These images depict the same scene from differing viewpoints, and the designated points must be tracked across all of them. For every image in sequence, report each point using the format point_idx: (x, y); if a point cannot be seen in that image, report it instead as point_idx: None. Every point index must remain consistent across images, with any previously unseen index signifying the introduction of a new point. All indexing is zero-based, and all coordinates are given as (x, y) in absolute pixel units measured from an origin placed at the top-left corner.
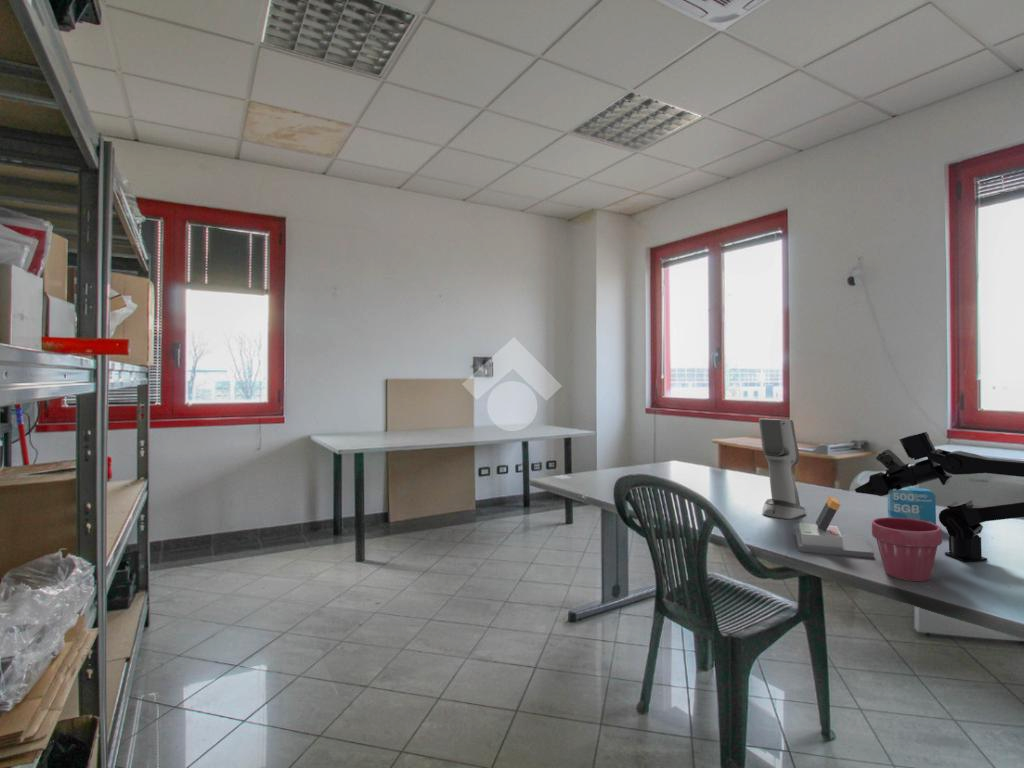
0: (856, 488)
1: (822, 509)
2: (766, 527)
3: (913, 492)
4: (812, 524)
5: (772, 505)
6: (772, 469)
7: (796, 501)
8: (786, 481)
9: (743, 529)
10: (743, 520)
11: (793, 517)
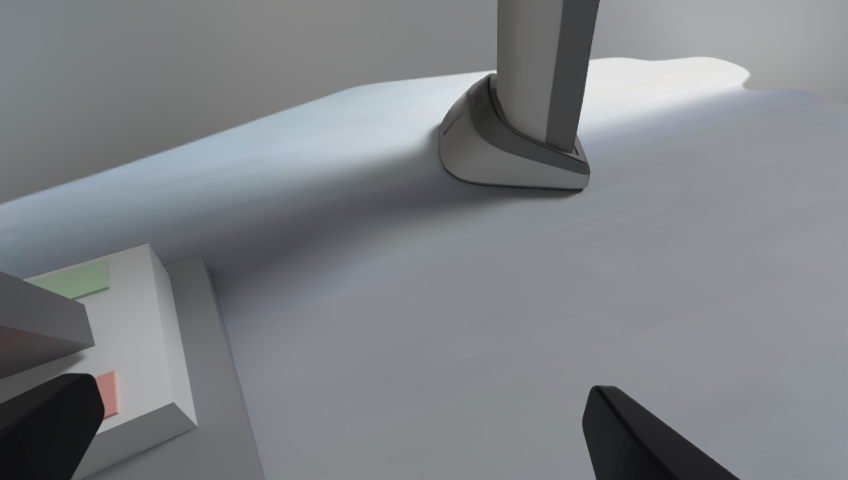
0: (25, 395)
1: (25, 281)
2: (283, 170)
3: None
4: (150, 291)
5: (464, 102)
6: None
7: (552, 128)
8: (519, 15)
9: (209, 139)
10: (331, 110)
11: (479, 181)
